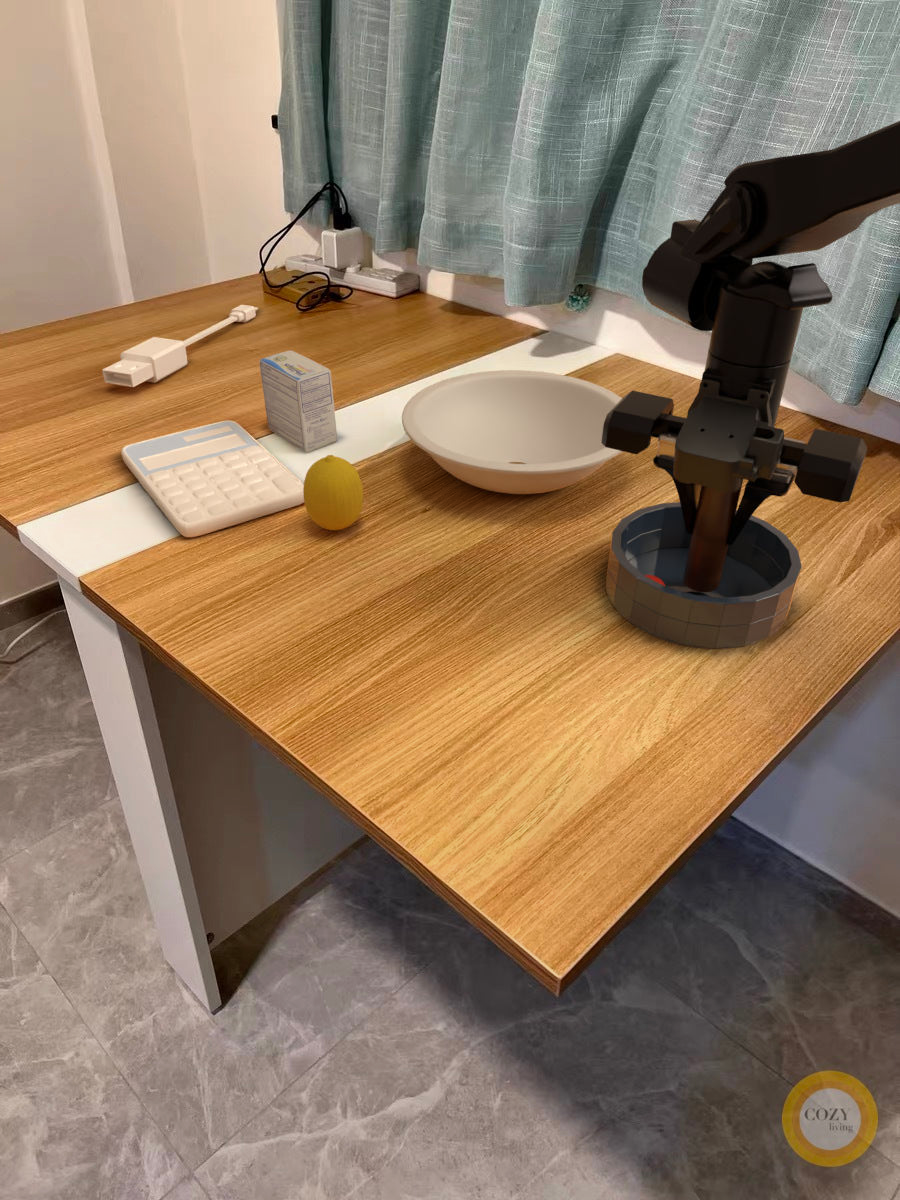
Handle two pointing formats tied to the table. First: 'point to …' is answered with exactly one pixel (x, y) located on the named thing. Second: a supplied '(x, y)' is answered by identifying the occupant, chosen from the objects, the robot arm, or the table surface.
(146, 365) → the charging cable
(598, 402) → the soup bowl
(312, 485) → the lemon
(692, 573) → the brown cylinder
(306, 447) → the medicine box
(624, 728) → the table surface
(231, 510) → the calculator
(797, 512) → the table surface
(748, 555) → the bowl
